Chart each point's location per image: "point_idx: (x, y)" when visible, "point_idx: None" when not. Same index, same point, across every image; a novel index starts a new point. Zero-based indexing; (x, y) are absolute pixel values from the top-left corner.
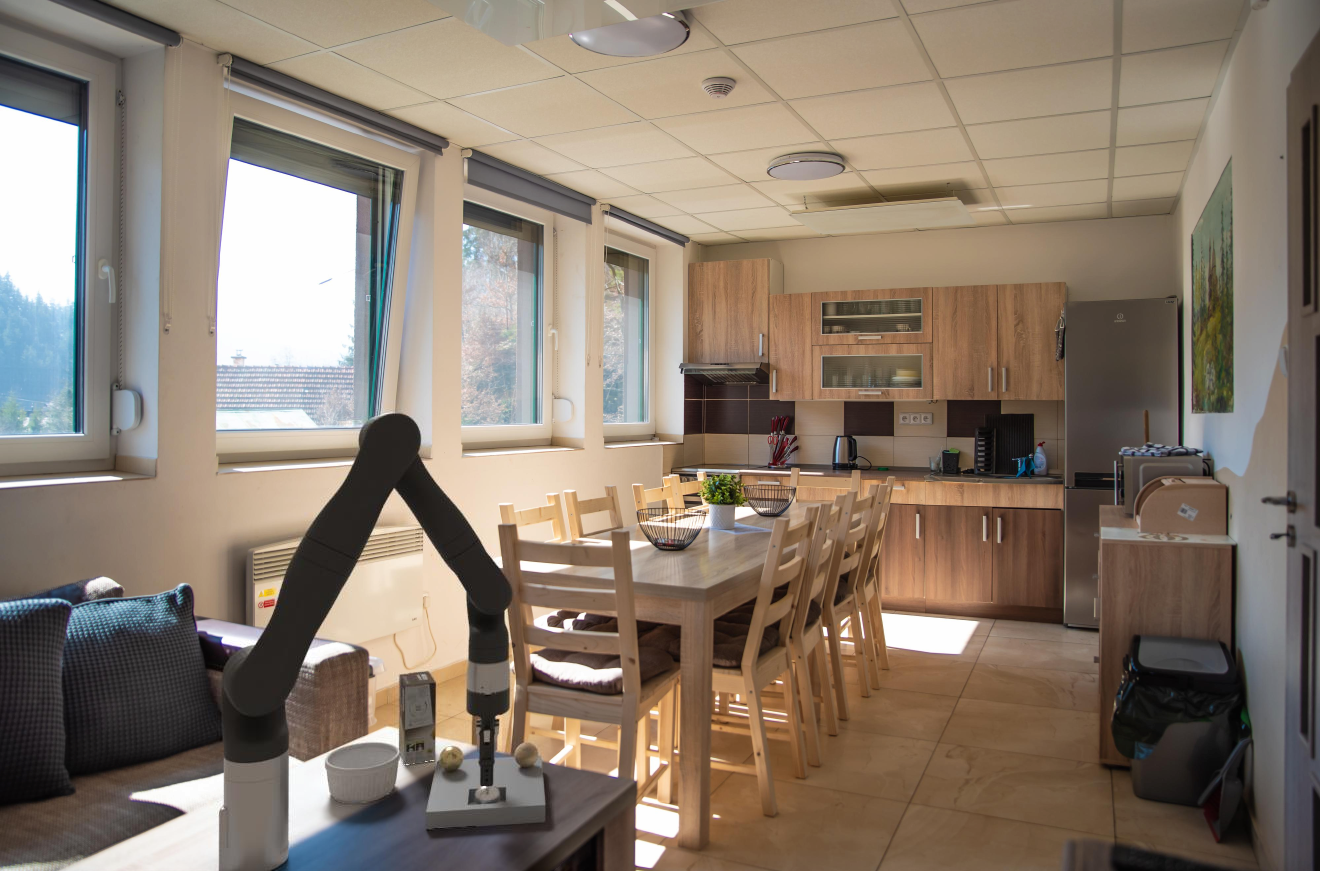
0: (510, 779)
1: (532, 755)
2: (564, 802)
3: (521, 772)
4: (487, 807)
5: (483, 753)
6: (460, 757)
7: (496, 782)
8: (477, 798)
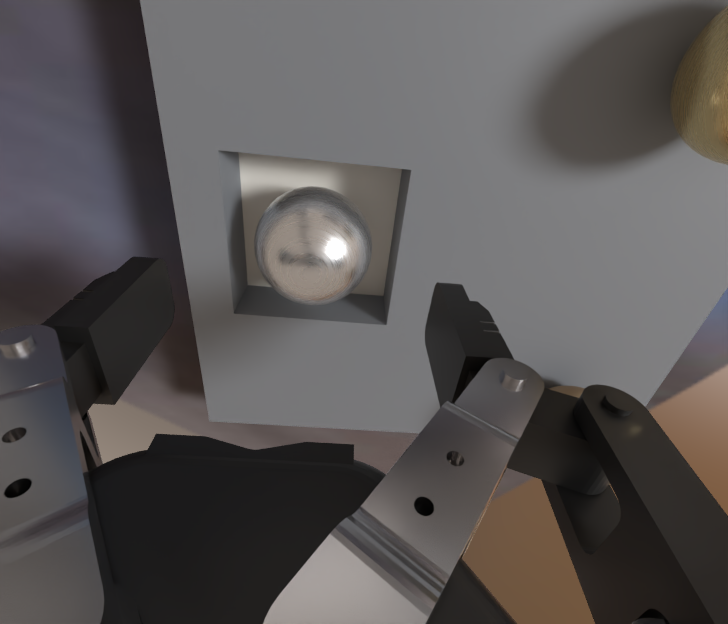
0: None
1: None
2: (346, 431)
3: None
4: (190, 242)
5: (450, 331)
6: (712, 145)
7: None
8: (272, 205)
